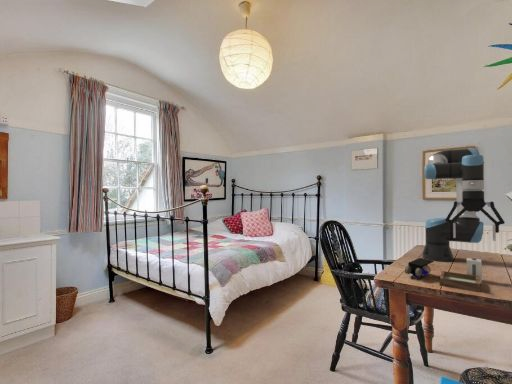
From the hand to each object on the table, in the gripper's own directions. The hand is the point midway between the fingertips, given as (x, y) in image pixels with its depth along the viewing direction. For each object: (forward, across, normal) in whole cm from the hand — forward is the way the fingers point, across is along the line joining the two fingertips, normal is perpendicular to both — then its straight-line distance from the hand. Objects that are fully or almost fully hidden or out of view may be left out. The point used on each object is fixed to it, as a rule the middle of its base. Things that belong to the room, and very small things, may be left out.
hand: (473, 239), depth 120 cm
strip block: (+18, 0, 0) cm, 18 cm away
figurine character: (+18, -20, -7) cm, 28 cm away
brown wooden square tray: (+18, -5, -10) cm, 21 cm away
